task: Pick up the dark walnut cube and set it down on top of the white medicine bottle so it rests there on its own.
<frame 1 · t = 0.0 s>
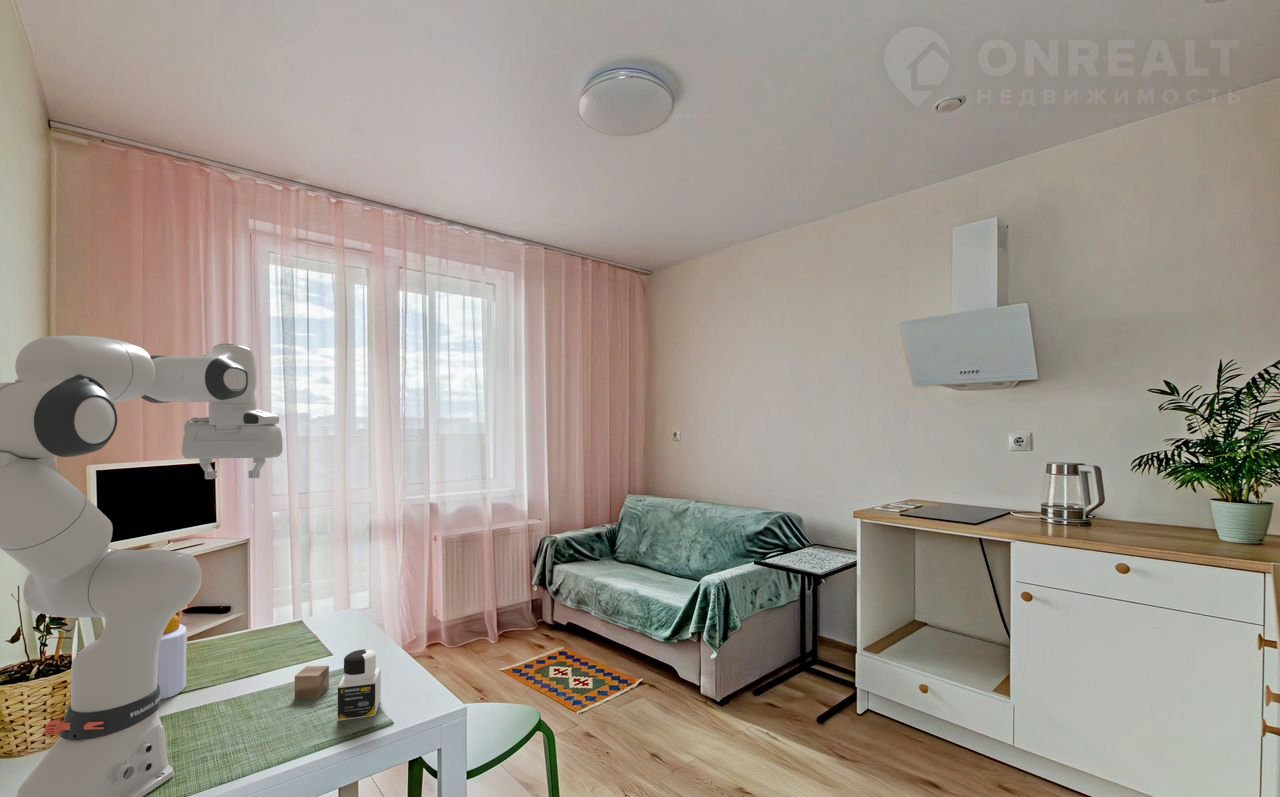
hand: (232, 478, 132), 48 cm above the table, fingers open, 8 cm apart
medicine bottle: (359, 711, 123), on the table
soap bottle: (163, 690, 133), on the table
walnut cube: (312, 693, 131), on the table
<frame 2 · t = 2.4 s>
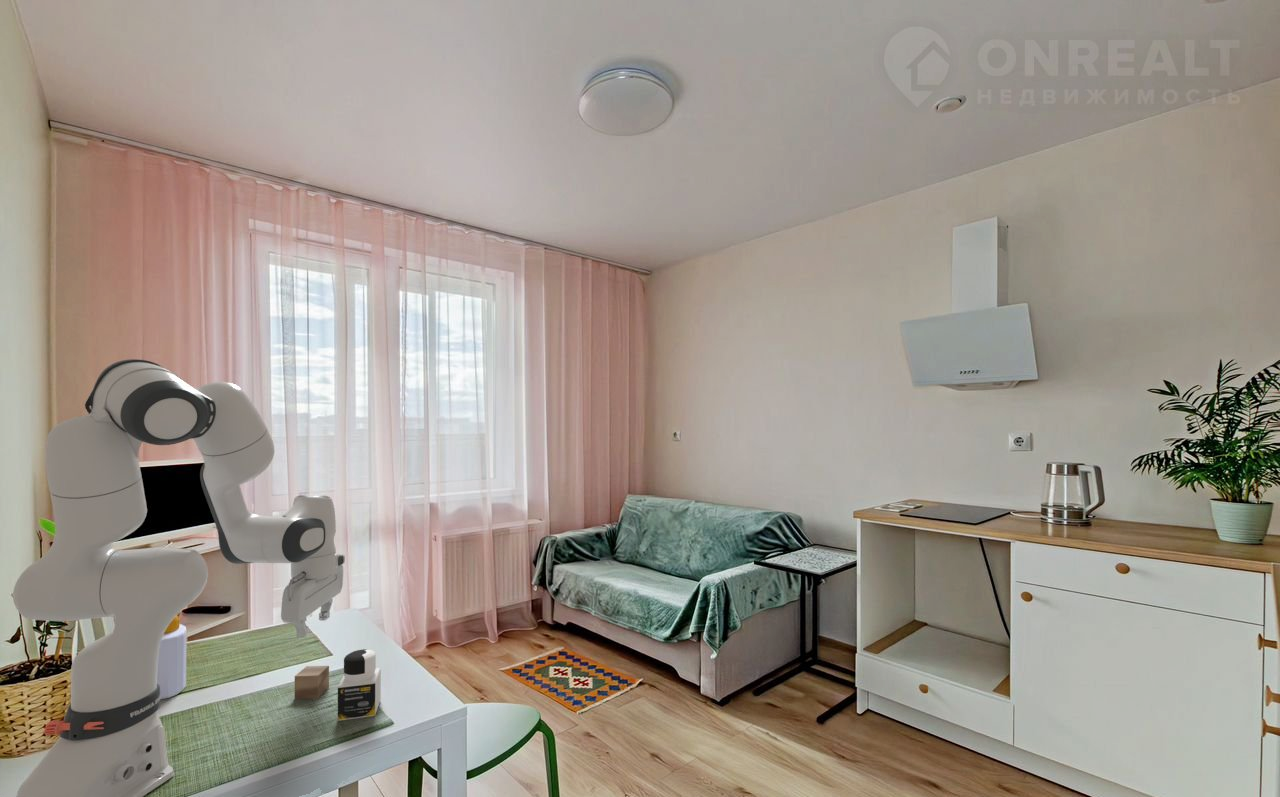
hand: (313, 627, 132), 14 cm above the table, fingers open, 8 cm apart
nothing on the table moved.
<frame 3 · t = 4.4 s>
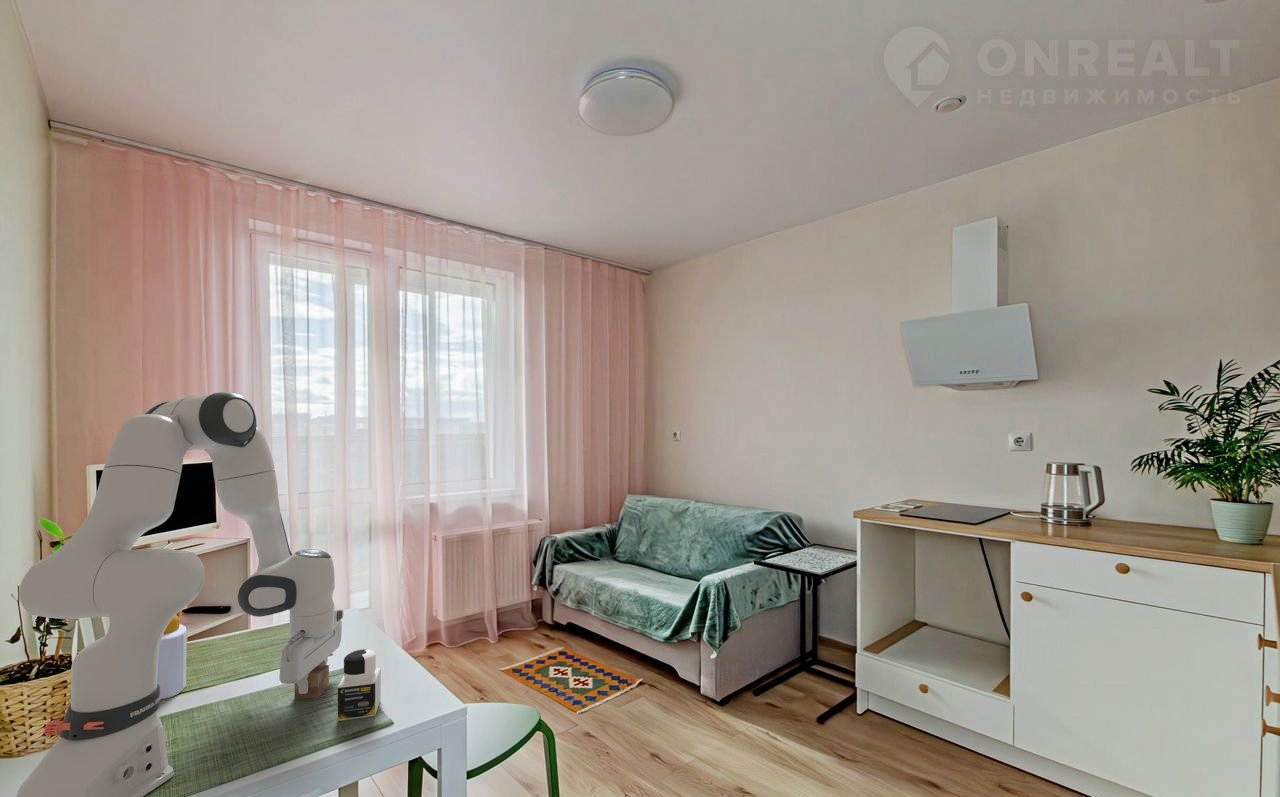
hand: (312, 685, 131), 2 cm above the table, fingers closed on walnut cube, 5 cm apart
walnut cube: (312, 692, 131), on the table, touching gripper
everything else where it was.
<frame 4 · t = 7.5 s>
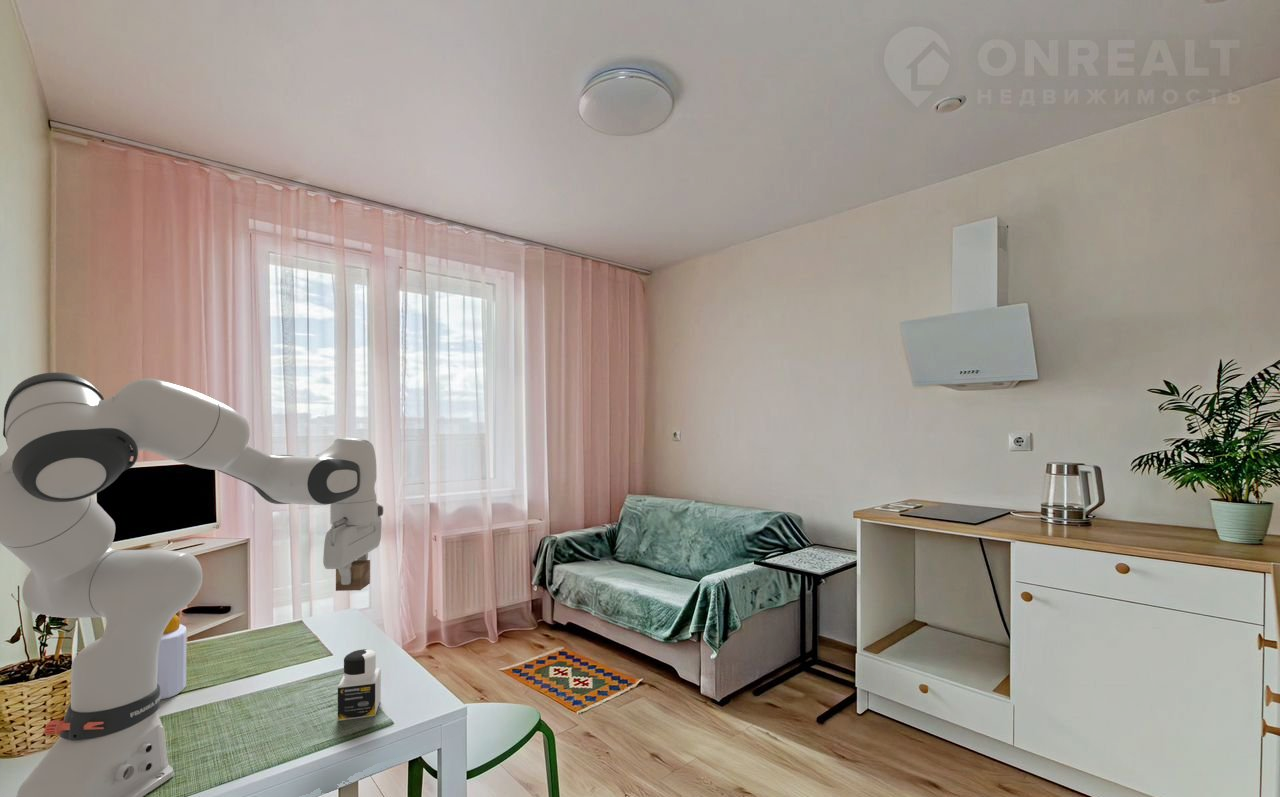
hand: (353, 579, 124), 27 cm above the table, fingers closed on walnut cube, 5 cm apart
walnut cube: (353, 586, 124), point 26 cm above the table, touching gripper
everything else where it was.
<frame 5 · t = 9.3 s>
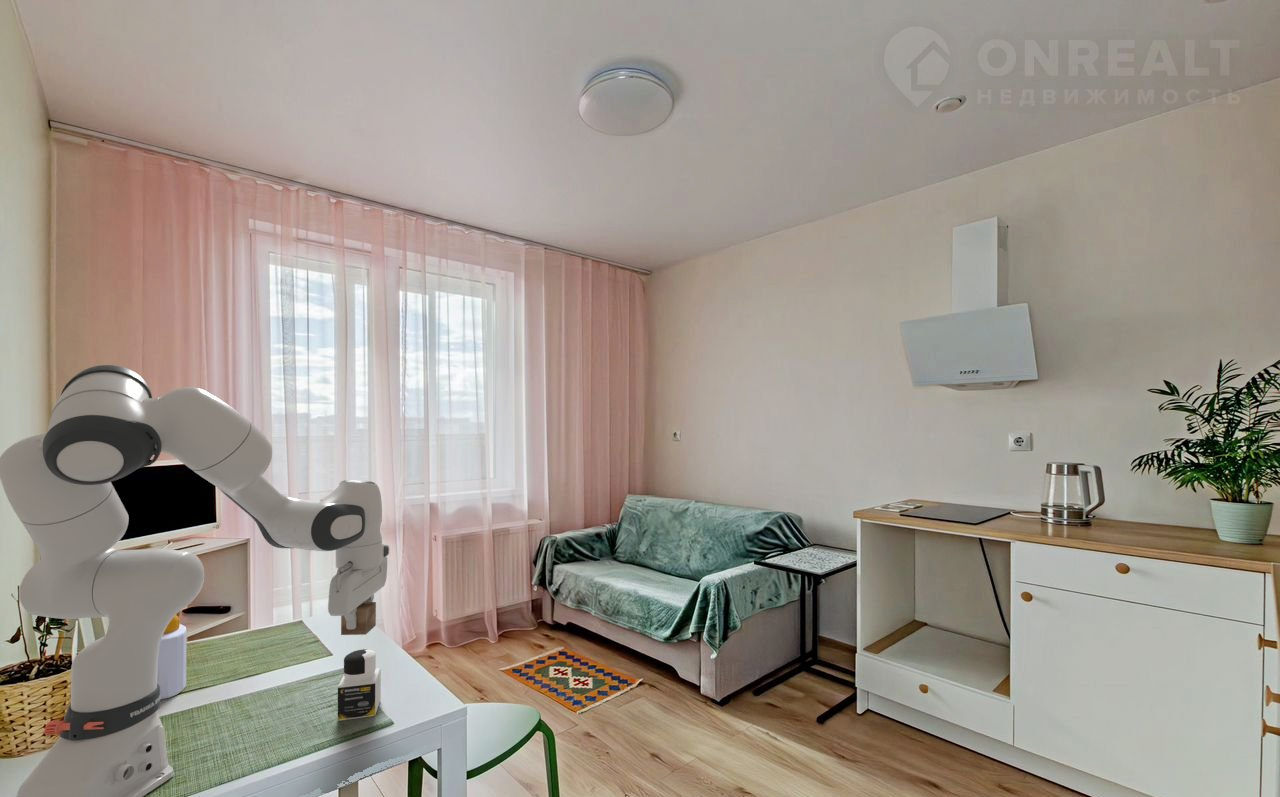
hand: (359, 622, 123), 18 cm above the table, fingers closed on walnut cube, 5 cm apart
walnut cube: (358, 630, 123), point 17 cm above the table, touching gripper
everything else where it was.
when the fingers open (15 cm above the table, at t = 10.8 s): walnut cube drops 1 cm, resting on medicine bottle.
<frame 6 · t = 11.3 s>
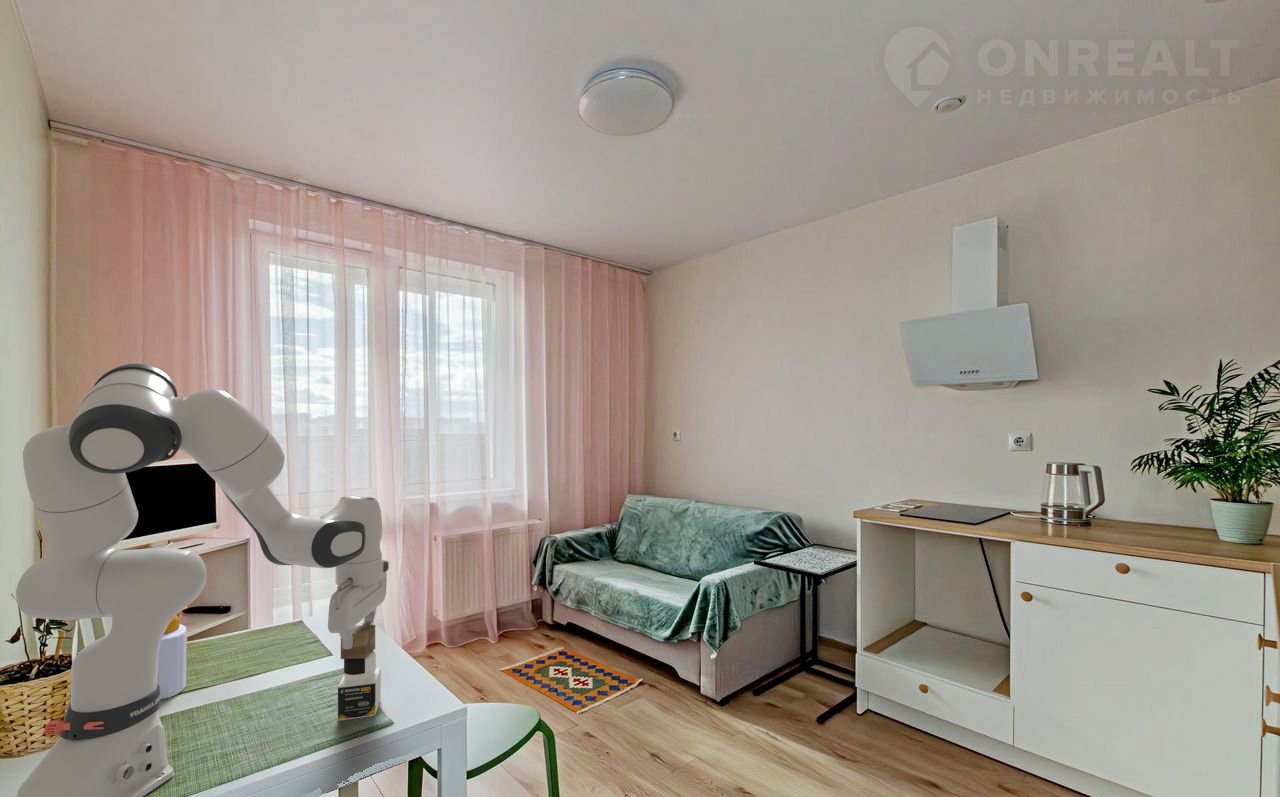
hand: (358, 638, 123), 15 cm above the table, fingers open, 8 cm apart
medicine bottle: (359, 711, 123), on the table, touching walnut cube
walnut cube: (358, 653, 123), point 12 cm above the table, touching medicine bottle
everything else where it was.
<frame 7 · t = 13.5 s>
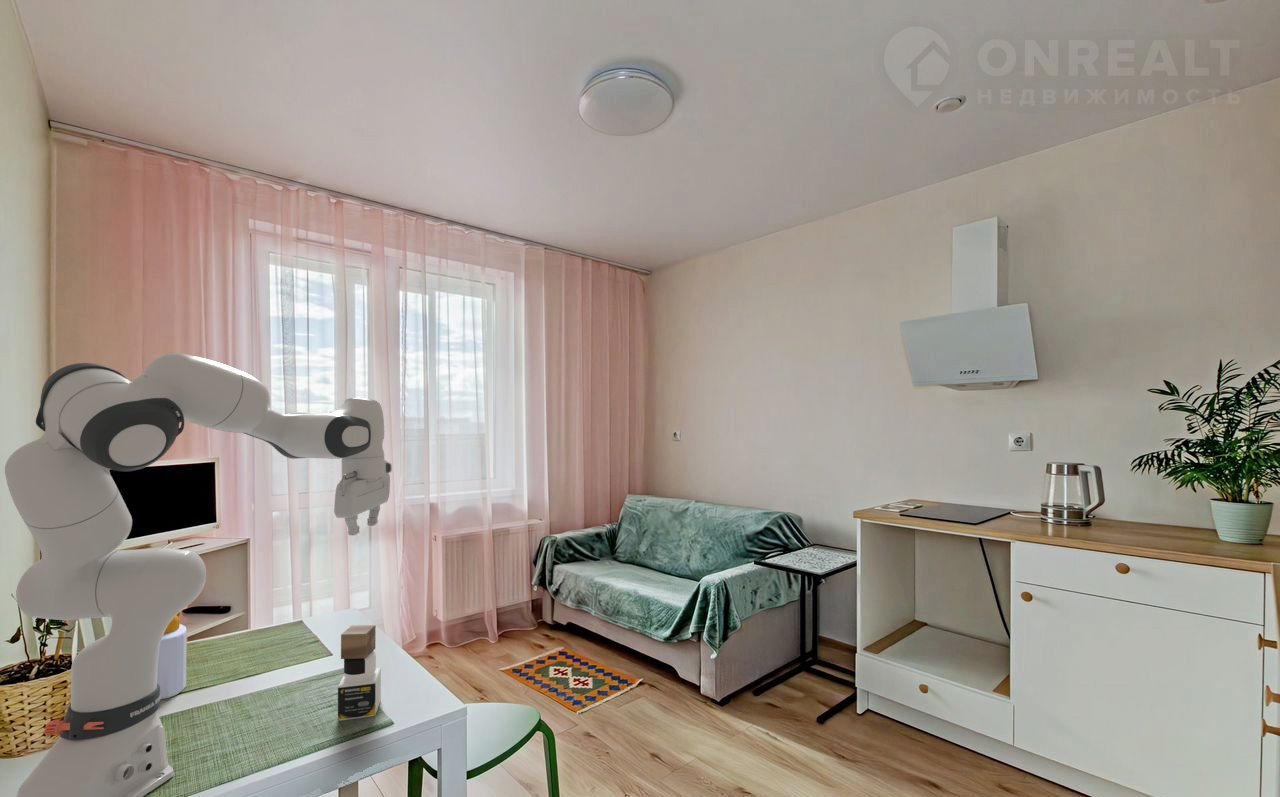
hand: (363, 529, 133), 36 cm above the table, fingers open, 8 cm apart
nothing on the table moved.
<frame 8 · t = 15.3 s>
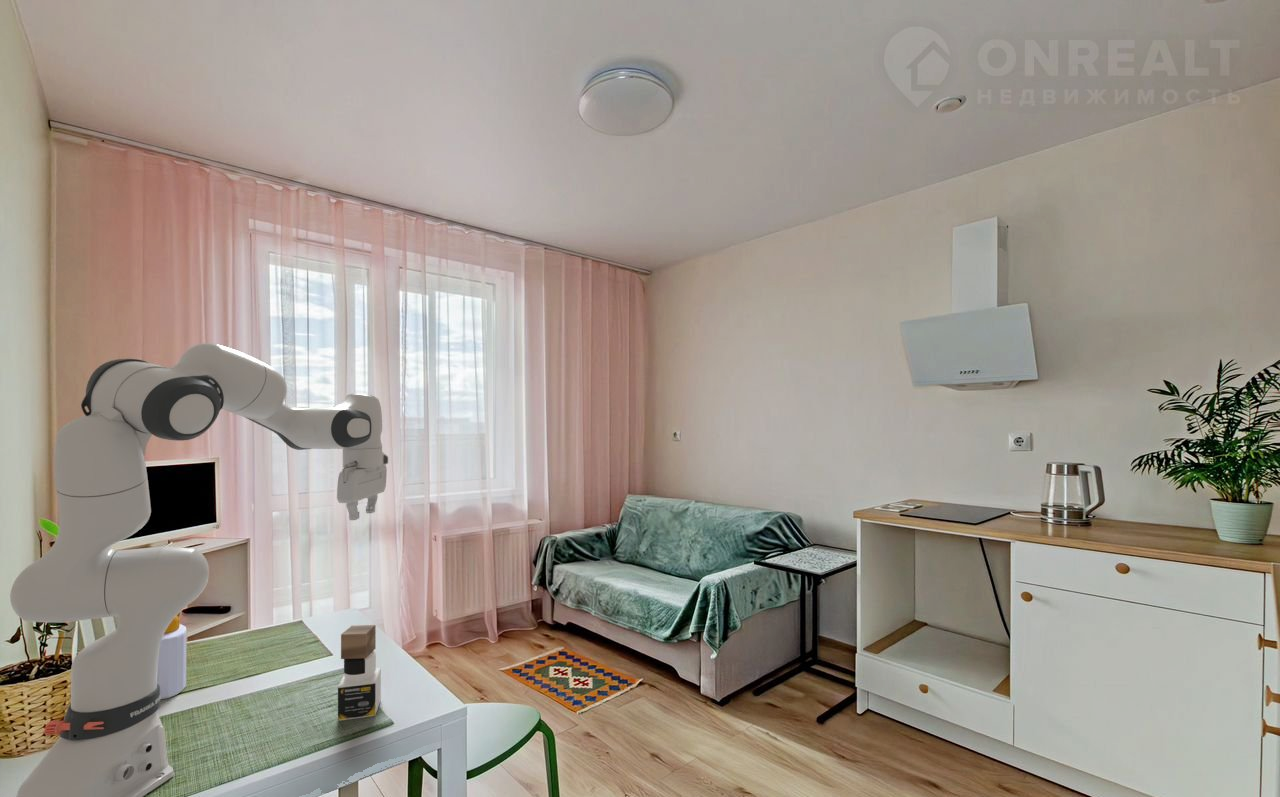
hand: (362, 516, 144), 37 cm above the table, fingers open, 8 cm apart
nothing on the table moved.
at the end: walnut cube point 11.9 cm above the table; walnut cube 0.3 cm from the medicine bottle (horizontally); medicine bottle tilted 0° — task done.
